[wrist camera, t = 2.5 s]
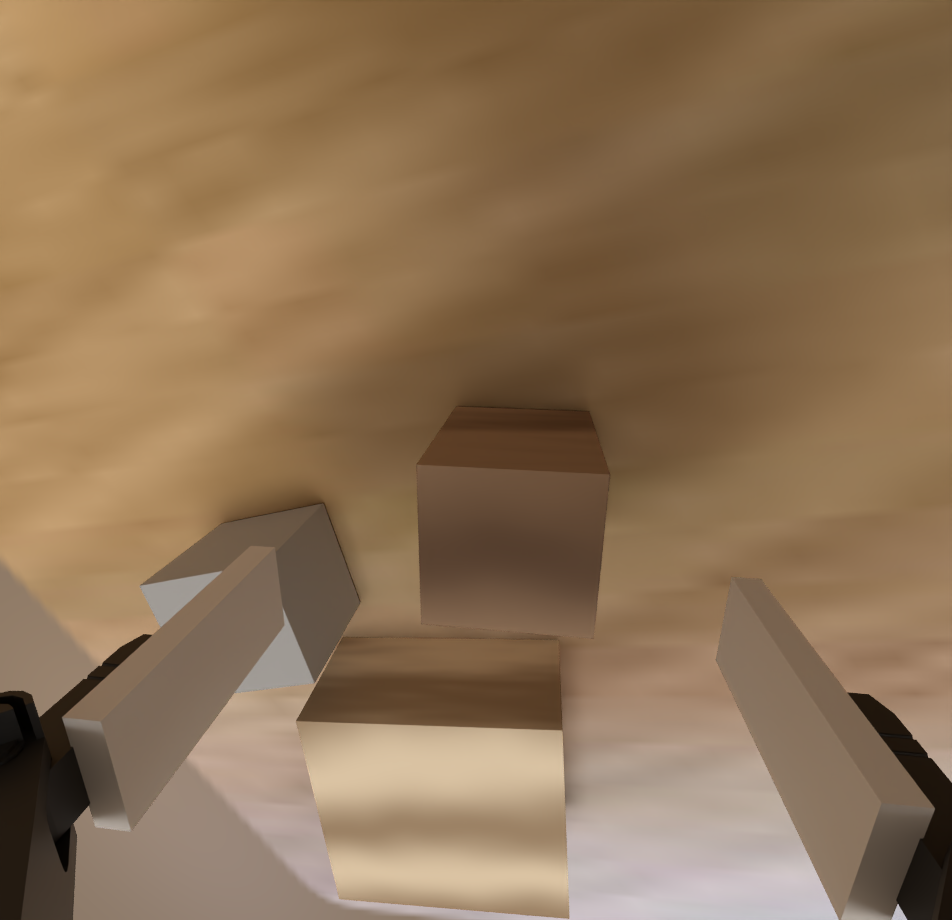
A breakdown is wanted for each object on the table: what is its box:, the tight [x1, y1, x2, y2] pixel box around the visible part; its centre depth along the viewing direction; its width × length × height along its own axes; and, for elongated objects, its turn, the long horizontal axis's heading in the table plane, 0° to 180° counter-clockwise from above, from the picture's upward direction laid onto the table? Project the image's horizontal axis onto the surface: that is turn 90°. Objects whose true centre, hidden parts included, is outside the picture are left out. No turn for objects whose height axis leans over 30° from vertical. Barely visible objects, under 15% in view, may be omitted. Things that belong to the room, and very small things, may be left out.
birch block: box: [296, 637, 569, 919], centre depth 28 cm, size 12×12×6 cm
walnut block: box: [416, 406, 610, 639], centre depth 21 cm, size 6×6×8 cm
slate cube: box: [140, 503, 360, 693], centre depth 25 cm, size 6×6×6 cm
